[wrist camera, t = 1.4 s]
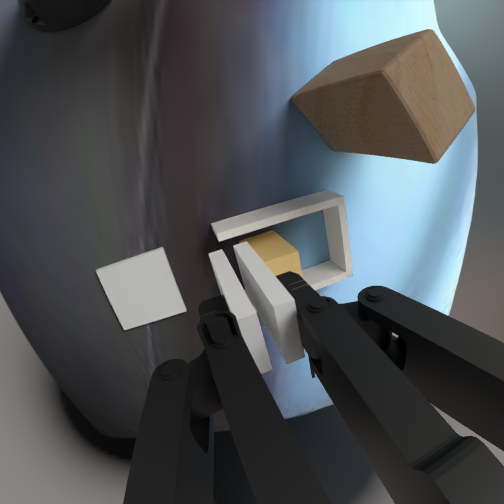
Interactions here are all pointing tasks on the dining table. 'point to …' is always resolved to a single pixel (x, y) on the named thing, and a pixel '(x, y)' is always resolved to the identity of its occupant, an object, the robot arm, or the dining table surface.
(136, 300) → the tile
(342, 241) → the white u-shaped frame
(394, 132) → the wooden block
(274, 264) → the block
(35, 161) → the dining table surface
